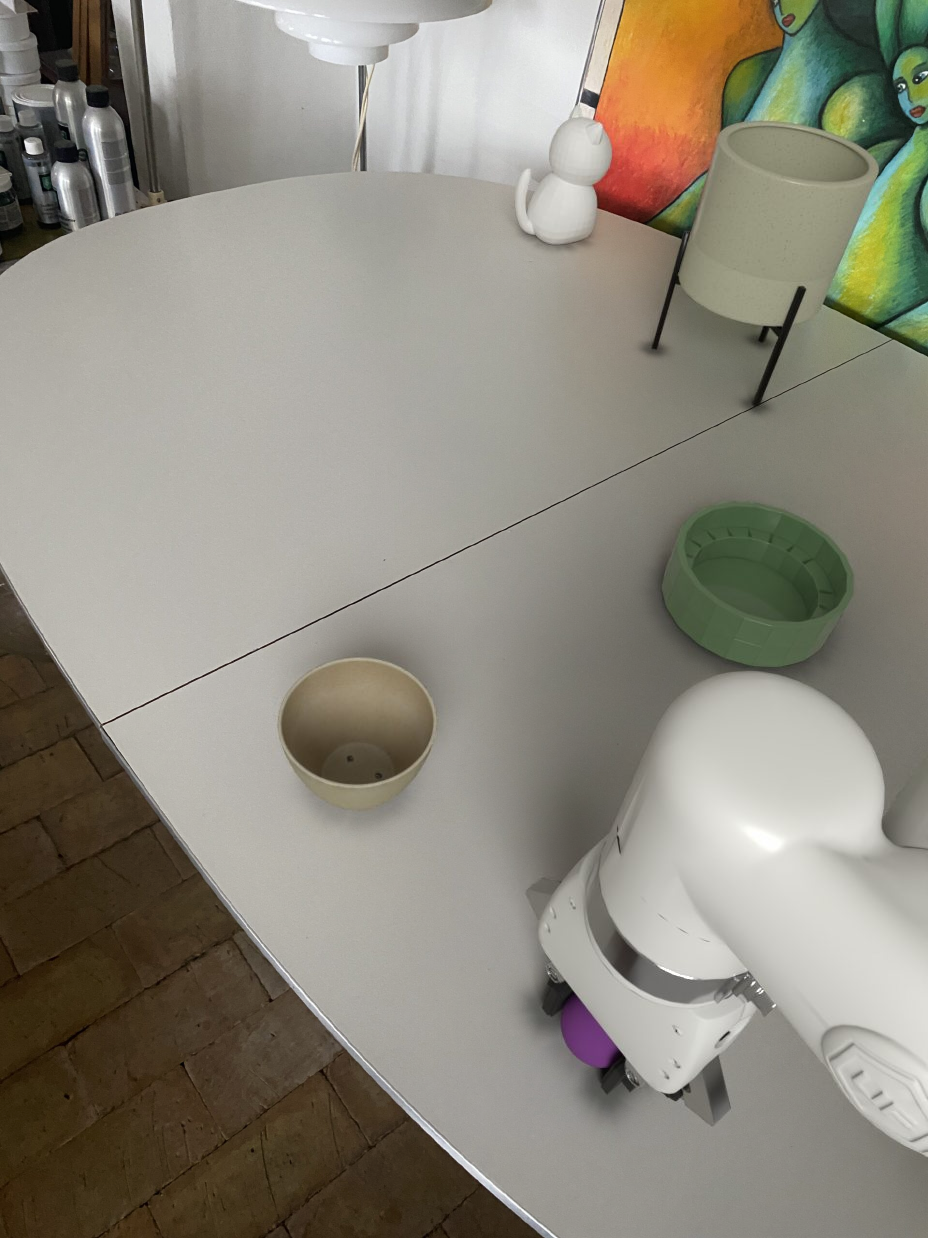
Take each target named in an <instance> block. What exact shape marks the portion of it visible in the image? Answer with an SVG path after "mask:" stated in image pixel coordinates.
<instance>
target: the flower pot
mask: <svg viewBox="0 0 928 1238" xmlns="http://www.w3.org/2000/svg"><path fill="white" fill-rule="evenodd" d="M437 730H438V713H437V708H436V704H435V702H434V699H433V697H432V695H431V694H430V692H429V690H428V689H427V687H426V686H425V685H424V684H423V683H422V682H421V681H420V679H419V678H417V676H416V675H414V674H413V673H411V672H410V671H408V670H407V669H405V668H404V667H402V666H400V665H398V664H395V663H393V662H389V661H387V660H384V659H381V658H375V657H368V656H367V657H366V656H353V657H345V658H339V659H334V660H331V661H329V662H325V663H323V664H320V665H318V666H315V667H314V668H312V669H311V670H308V672H306V673H305V674H303V675H302V676H300V678H298V679H297V680H296V681H295V682H294V683H293V684H292V686H290V688H289V689H288V691H287V693H286V694H285V696H284V697H283V699H282V701H281V704H280V707H279V710H278V715H277V734H278V738H279V741H280V744H281V748H282V750H283V752H284V755H285V757H286V759H287V762H288V763H289V765H290V766H291V768H292V770H293V771H294V773H295V775H296V776H297V777H298V778H299V779H300V781H301V782H302V783H303V784H304V785H305V787H306V788H307V789H308V790H309V791H311V792H312V793H313V794H315V796H317V797H319V798H320V799H321V800H323V801H325V802H326V803H328V804H330V805H332V806H334V807H337V808H339V809H345V810H350V811H364V810H365V811H366V810H371V809H373V808H377V807H379V806H381V805H384V804H386V803H387V802H389V801H391V800H393V799H394V798H395V797H397V796H398V795H400V793H401V792H403V791H404V790H405V789H406V788H408V786H409V785H410V784H411V783H412V781H413V780H414V779H415V778H416V777H417V775H418V774H419V773H420V771H421V769H422V768H423V766H424V764H425V763H426V761H427V759H428V757H429V755H430V753H431V750H432V748H433V745H434V742H435V739H436V736H437Z"/></svg>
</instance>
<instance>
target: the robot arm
mask: <svg viewBox="0 0 928 1238" xmlns="http://www.w3.org/2000/svg"><path fill="white" fill-rule="evenodd" d="M633 776H634V777H633V778H632V781H631V783H630V785H629V787H628V790H627V792H626V794H625V796H624V799H623V800H622V803H621V805H620V808H619V809H618V813H617V815H616V817H615V819H614V822H613V824H612V827H611V829H610V831H609V832H608V834H606V835H605V836H604V837H603V838H602V839H601V840H600V841H599V842H597V843H596V844H595V845H594V846H593V847H592V848H591V849H589V851H587V852H586V853H585V855H583V856H582V858H581V859H579V860H578V862H577V863H575V865H574V866H573V867H572V868H571V870H570V871H569V872H568V873H567V875H566V876H565V877H564V878H563V880H561V881H560V880H555V879H552V878H545V877H542V878H541V879H538V880H537V881H536V882H535V883H533V884H532V885H530V886H529V887H527V888H526V889H525V891H524V892H525V896H526V898H527V900H528V902H529V904H530V907H531V908H532V910H533V913H534V914H535V916H536V918H537V921H539V922H538V928H537V935H538V941H539V944H540V945H541V948H542V949H543V951H544V953H545V954H546V956H547V957H548V959H549V961H548V962H547V963H546V964H545V966H544V968H545V972H546V973H547V975H548V977H549V979H548V981H547V983H546V985H547V986H548V988H549V989H550V990H549V992H548V994H547V996H546V998H545V1000H544V1003H543V1005H542V1007H541V1009H542V1011H543V1013H545V1015H546V1016H547V1017H548V1016H550V1017H551V1018H552V1017H554V1016H556V1014H558V1013H559V1012H560V1011H562V1009H563V1006H564V1003H565V1001H566V999H567V998H568V997H569V996H570V995H571V994H572V993H573V992H575V993H576V995H577V996H578V997H579V999H580V1000H581V1001H582V1002H583V1004H584V1005H585V1006H586V1008H587V1009H588V1010H589V1011H590V1013H591V1014H592V1015H593V1017H594V1018H595V1019H596V1020H597V1022H598V1023H599V1024H600V1026H601V1027H602V1028H603V1029H604V1031H605V1032H606V1033H607V1034H608V1036H609V1037H610V1038H611V1040H612V1041H613V1042H614V1043H615V1045H616V1046H617V1047H618V1048H619V1050H620V1051H621V1052H622V1053H623V1055H624V1056H622V1057H621V1058H620V1059H619V1060H618V1061H617V1062H616V1063H615V1064H614V1065H613V1066H612V1067H609V1069H608V1071H607V1072H606V1073H605V1074H604V1076H603V1077H602V1078H601V1079H600V1081H599V1082H600V1083H601V1086H600V1088H601V1089H602V1091H603V1092H604V1093H605V1095H609V1094H610V1093H611V1092H612V1091H613V1090H615V1089H616V1088H617V1086H619V1085H620V1084H621V1083H622V1084H623V1086H624V1087H625V1088H626V1089H627V1091H628V1093H631V1092H632V1091H633V1090H635V1089H638V1090H640V1089H642V1088H643V1087H644V1086H645V1085H647V1084H648V1085H649V1086H650V1088H652V1089H653V1090H655V1091H656V1092H660V1093H661V1094H663V1095H664V1096H665V1098H667V1099H670V1100H672V1101H674V1102H678V1101H679V1100H680V1099H681V1100H682V1101H683V1102H684V1106H686V1107H687V1108H688V1109H689V1110H690V1111H692V1112H693V1113H694V1114H695V1115H696V1116H698V1117H699V1118H700V1119H702V1121H704V1122H705V1123H706V1124H707V1125H709V1126H710V1127H714V1126H715V1125H717V1123H718V1122H719V1121H720V1120H722V1118H724V1117H725V1115H726V1114H727V1113H728V1112H729V1111H730V1110H731V1109H732V1106H731V1101H730V1098H729V1093H728V1089H727V1085H726V1081H725V1077H724V1072H723V1068H722V1064H721V1063H722V1062H721V1059H720V1056H721V1055H722V1054H723V1053H724V1052H725V1051H726V1050H727V1049H728V1048H729V1047H730V1046H731V1045H732V1043H733V1042H734V1041H735V1040H736V1039H737V1038H738V1037H739V1036H740V1034H741V1033H742V1032H743V1030H744V1029H745V1028H746V1026H747V1025H748V1024H749V1023H750V1022H751V1020H752V1018H753V1017H754V1015H755V1014H756V1012H757V1011H758V1012H759V1013H760V1014H761V1015H762V1016H763V1017H764V1018H765V1017H767V1016H768V1015H769V1014H770V1013H771V1012H772V1011H773V1010H774V1009H775V1008H776V1007H777V1009H778V1010H779V1011H780V1013H781V1014H782V1015H783V1016H784V1018H785V1019H786V1021H788V1023H789V1024H790V1025H791V1027H792V1028H793V1029H794V1030H795V1032H796V1033H797V1034H798V1035H799V1036H800V1038H801V1039H802V1040H803V1041H804V1043H805V1044H806V1045H807V1047H808V1048H809V1049H810V1050H811V1052H812V1053H813V1054H814V1055H815V1057H817V1059H818V1060H819V1061H820V1062H821V1063H822V1065H823V1066H824V1067H825V1068H826V1069H827V1071H828V1072H829V1073H830V1075H831V1077H832V1079H833V1080H834V1082H835V1084H836V1085H837V1087H838V1089H839V1090H840V1091H841V1093H842V1094H843V1095H844V1097H845V1098H846V1099H847V1100H848V1101H849V1103H850V1104H851V1105H852V1106H853V1107H854V1108H856V1110H857V1111H858V1112H859V1113H860V1114H861V1115H862V1116H863V1117H864V1118H865V1119H866V1120H868V1121H869V1122H870V1124H872V1125H873V1126H874V1127H876V1128H877V1129H878V1130H880V1131H881V1132H883V1134H885V1135H887V1136H888V1137H889V1138H891V1139H892V1140H894V1141H895V1142H897V1143H899V1144H901V1145H902V1146H904V1147H906V1148H908V1149H911V1150H912V1151H915V1152H917V1153H918V1154H919V1153H920V1155H923V1156H924V1157H926V1158H928V755H926V757H924V759H922V761H921V762H920V763H919V765H917V767H916V768H915V770H914V771H913V773H912V774H911V775H910V777H909V778H908V780H907V781H906V782H905V783H904V785H903V786H902V788H901V789H900V791H899V792H898V794H897V795H896V797H895V798H894V800H893V801H892V802H891V804H890V806H888V809H887V810H886V812H885V813H884V810H885V809H884V807H885V793H886V787H885V780H884V772H883V770H882V766H881V764H880V761H879V758H878V756H877V754H876V751H875V749H874V747H873V745H872V743H871V741H870V740H869V737H868V736H867V735H866V733H865V732H864V731H863V729H862V728H861V727H860V725H859V724H858V723H857V721H856V720H855V719H854V718H853V717H852V716H851V715H850V714H849V713H848V712H847V711H846V710H845V709H844V708H843V707H842V706H841V705H839V704H838V703H836V701H834V700H832V699H831V698H830V697H828V696H827V695H825V694H823V693H822V692H821V691H819V690H817V689H816V688H814V687H812V686H810V685H808V684H805V683H803V682H801V681H799V680H797V679H794V678H791V677H789V676H785V675H781V674H777V673H772V672H771V673H770V672H766V671H761V670H743V671H742V670H740V671H729V672H725V673H720V674H715V675H712V676H709V677H707V678H705V679H702V680H700V681H698V682H697V683H695V684H694V685H692V686H690V687H689V688H688V689H686V690H684V691H683V692H682V693H681V694H680V695H679V696H678V697H677V698H676V699H675V700H673V701H672V702H671V704H670V705H668V706H667V708H666V710H665V712H664V713H663V715H662V717H661V719H660V720H659V722H658V724H657V726H656V727H655V730H654V731H653V734H652V736H651V737H650V741H649V742H648V744H647V747H646V750H645V752H644V754H643V756H642V759H641V761H640V762H639V765H638V767H637V769H636V771H635V774H634V775H633Z"/></svg>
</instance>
